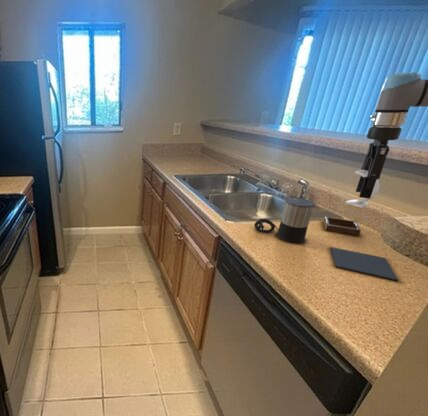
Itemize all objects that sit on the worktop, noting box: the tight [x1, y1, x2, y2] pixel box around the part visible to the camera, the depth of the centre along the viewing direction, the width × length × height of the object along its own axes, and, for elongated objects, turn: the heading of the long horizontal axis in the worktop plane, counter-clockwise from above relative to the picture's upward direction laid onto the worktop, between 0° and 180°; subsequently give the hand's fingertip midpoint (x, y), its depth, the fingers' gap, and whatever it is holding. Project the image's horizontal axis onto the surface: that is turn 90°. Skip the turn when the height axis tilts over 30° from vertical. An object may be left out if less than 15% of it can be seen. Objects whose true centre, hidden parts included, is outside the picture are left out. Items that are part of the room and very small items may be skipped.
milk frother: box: [254, 197, 316, 244], centre depth 105 cm, size 14×16×15 cm
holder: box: [323, 216, 361, 237], centre depth 111 cm, size 10×10×2 cm
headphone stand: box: [344, 169, 381, 209], centre depth 96 cm, size 5×6×12 cm
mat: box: [330, 246, 399, 282], centre depth 88 cm, size 14×14×1 cm
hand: (362, 194), depth 96 cm, fingers closed on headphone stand, 6 cm apart
